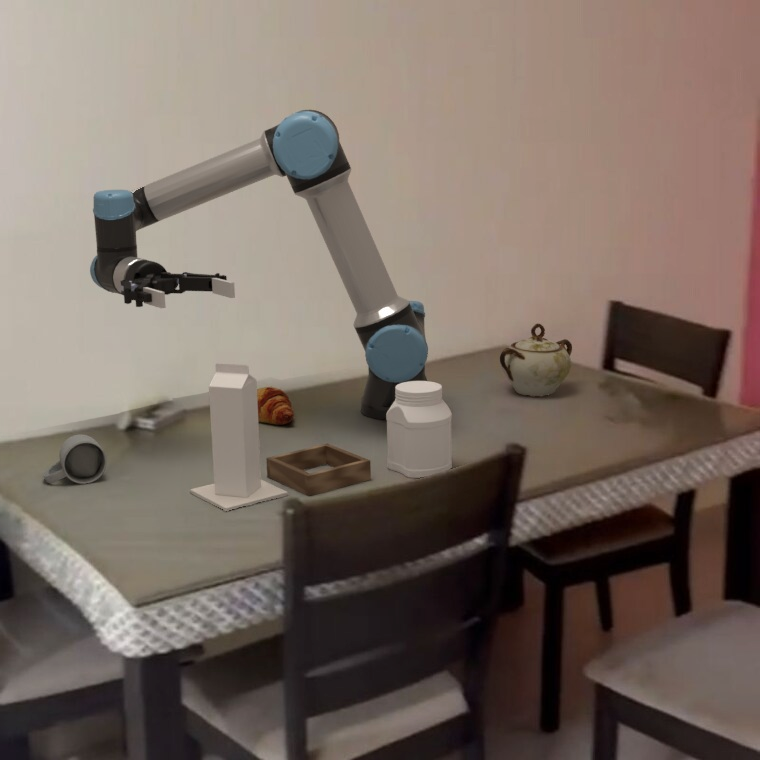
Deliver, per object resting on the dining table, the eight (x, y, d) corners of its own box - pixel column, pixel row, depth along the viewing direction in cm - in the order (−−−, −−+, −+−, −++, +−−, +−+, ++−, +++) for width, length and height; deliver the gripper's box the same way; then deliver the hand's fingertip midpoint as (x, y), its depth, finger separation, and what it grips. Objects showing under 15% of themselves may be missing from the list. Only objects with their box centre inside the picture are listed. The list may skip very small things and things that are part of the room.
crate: (327, 461, 227) (327, 443, 226) (370, 479, 217) (370, 460, 216) (267, 476, 220) (266, 457, 219) (308, 496, 210) (308, 476, 209)
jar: (379, 465, 225) (377, 384, 221) (421, 455, 230) (420, 376, 226) (417, 481, 216) (416, 397, 212) (460, 470, 221) (460, 388, 217)
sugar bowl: (548, 378, 283) (549, 313, 279) (593, 391, 271) (595, 323, 267) (478, 391, 273) (478, 324, 269) (522, 406, 261) (523, 336, 257)
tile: (250, 477, 219) (250, 474, 219) (288, 495, 210) (287, 492, 210) (190, 492, 212) (189, 489, 212) (226, 511, 203) (225, 508, 203)
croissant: (231, 424, 265) (213, 394, 261) (266, 395, 269) (249, 366, 265) (281, 445, 248) (262, 414, 244) (318, 414, 252) (300, 383, 248)
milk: (229, 483, 215) (223, 358, 210) (262, 486, 213) (256, 360, 208) (214, 495, 209) (207, 367, 204) (247, 498, 207) (240, 369, 202)
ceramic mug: (100, 467, 227) (96, 427, 225) (109, 480, 219) (105, 439, 217) (41, 476, 223) (36, 435, 221) (47, 490, 216) (42, 448, 214)
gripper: (202, 291, 240) (261, 307, 223) (80, 308, 225) (134, 326, 209) (200, 252, 238) (259, 265, 221) (77, 267, 223) (130, 282, 207)
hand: (198, 295), depth 215 cm, fingers open, 13 cm apart
